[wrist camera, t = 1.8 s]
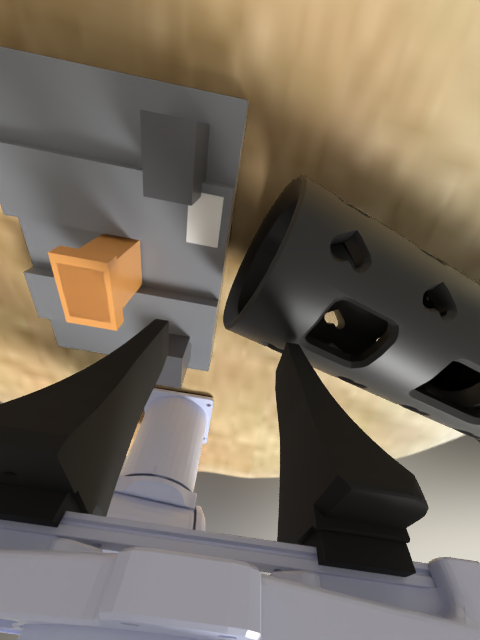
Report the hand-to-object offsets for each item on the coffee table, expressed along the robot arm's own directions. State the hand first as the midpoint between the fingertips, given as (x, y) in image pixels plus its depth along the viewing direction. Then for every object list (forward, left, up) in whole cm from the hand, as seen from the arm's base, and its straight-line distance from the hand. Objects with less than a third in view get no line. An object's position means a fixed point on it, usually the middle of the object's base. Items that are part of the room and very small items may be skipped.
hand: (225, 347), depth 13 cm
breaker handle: (0, +8, -7) cm, 11 cm away
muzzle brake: (-1, -14, -10) cm, 18 cm away
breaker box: (0, +8, -10) cm, 13 cm away
